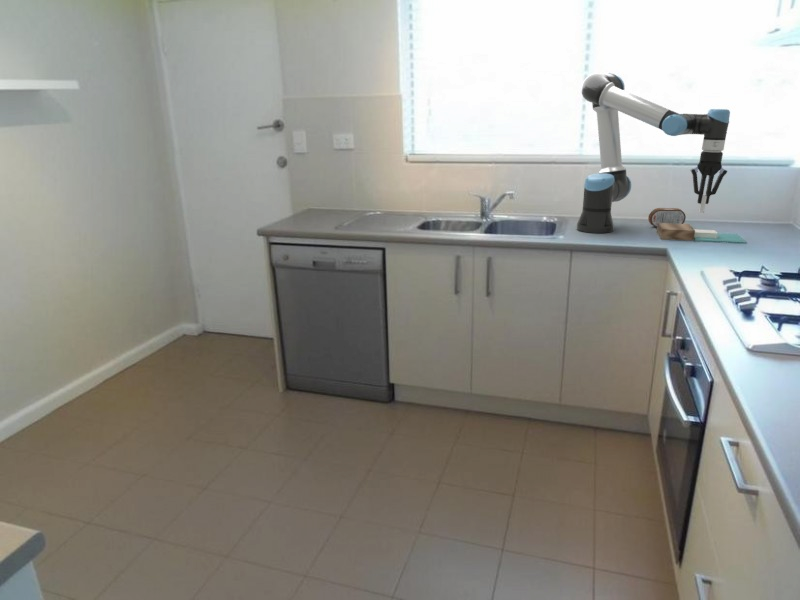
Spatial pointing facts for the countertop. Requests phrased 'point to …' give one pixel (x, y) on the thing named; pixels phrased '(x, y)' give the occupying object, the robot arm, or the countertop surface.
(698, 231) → the white rectangular block
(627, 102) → the robot arm
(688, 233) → the brown wooden block
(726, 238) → the mat
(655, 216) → the tin
